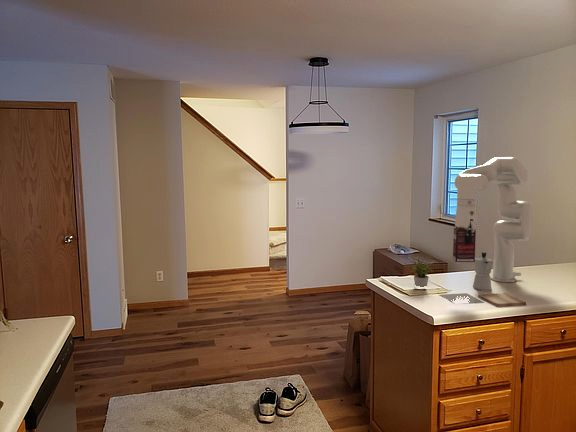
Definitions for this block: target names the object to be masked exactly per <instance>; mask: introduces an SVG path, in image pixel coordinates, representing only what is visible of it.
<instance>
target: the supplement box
mask: <svg viewBox="0 0 576 432" xmlns="http://www.w3.org/2000/svg"><path fill="white" fill-rule="evenodd" d="M468 232H469V230H468ZM476 232H477V229H476V230H475V231H474V233H473V235H472V244H465V235H466V232H465V229H464V228H456V227H453V238H452V239H453V242H452V243H453V245H452V262H453V263H454V264H456V265H457V264H459V265H460V264H461V265H462V264H463V265H475V258H476V239H477V238H476V237H477V235H476V234H477V233H476Z"/></svg>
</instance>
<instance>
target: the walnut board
mask: <svg viewBox="0 0 576 432" xmlns="http://www.w3.org/2000/svg"><path fill="white" fill-rule="evenodd" d="M477 298H478V299H480V300H483V301H484V302H487V303H488V304H491V305H493V306H495V307H497V308H499V307H512V306H514V307H515V306H526V305H527V302H526V301H524V300H522V299H519V298H517V297H516V296H513V295H511V294H509V293H506V292H500V293H498V292H497V293H483V294H482V293H481V294H480V293H479V294H477Z"/></svg>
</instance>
